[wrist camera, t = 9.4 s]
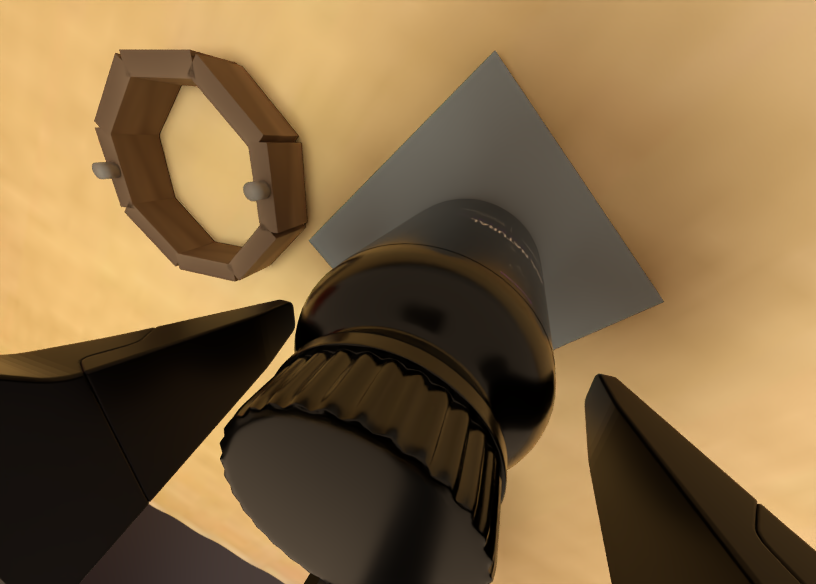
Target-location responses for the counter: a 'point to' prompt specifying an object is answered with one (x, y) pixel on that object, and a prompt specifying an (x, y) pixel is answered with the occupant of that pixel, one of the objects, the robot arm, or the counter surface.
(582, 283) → the rubber mat
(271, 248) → the walnut collar
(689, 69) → the counter surface
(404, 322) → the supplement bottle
